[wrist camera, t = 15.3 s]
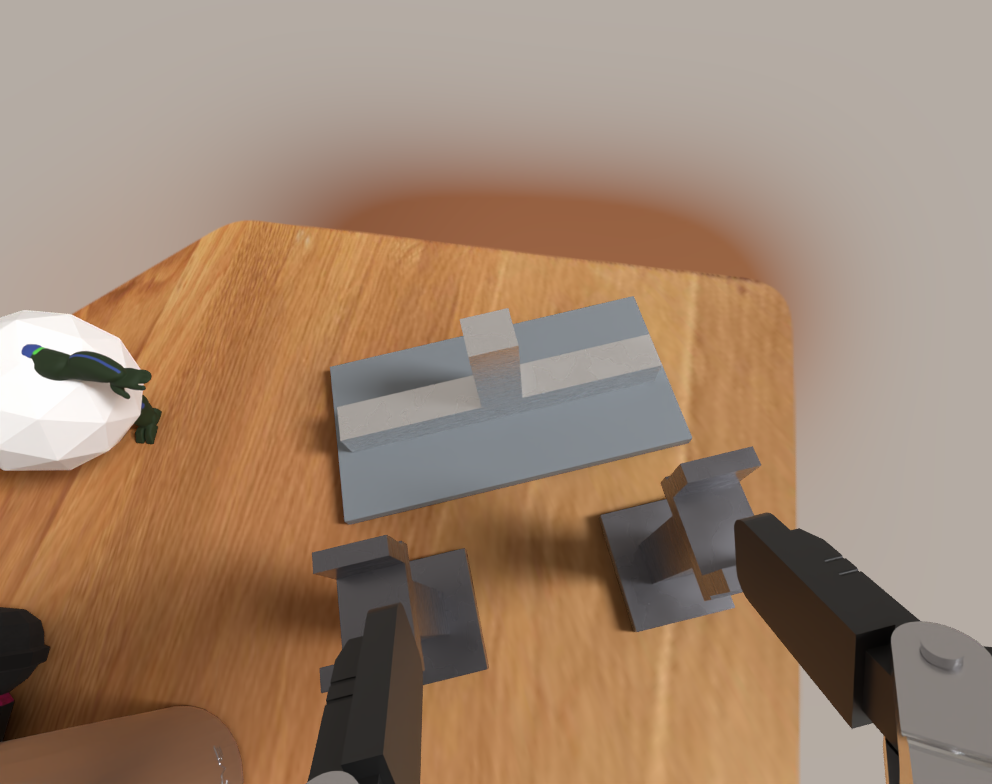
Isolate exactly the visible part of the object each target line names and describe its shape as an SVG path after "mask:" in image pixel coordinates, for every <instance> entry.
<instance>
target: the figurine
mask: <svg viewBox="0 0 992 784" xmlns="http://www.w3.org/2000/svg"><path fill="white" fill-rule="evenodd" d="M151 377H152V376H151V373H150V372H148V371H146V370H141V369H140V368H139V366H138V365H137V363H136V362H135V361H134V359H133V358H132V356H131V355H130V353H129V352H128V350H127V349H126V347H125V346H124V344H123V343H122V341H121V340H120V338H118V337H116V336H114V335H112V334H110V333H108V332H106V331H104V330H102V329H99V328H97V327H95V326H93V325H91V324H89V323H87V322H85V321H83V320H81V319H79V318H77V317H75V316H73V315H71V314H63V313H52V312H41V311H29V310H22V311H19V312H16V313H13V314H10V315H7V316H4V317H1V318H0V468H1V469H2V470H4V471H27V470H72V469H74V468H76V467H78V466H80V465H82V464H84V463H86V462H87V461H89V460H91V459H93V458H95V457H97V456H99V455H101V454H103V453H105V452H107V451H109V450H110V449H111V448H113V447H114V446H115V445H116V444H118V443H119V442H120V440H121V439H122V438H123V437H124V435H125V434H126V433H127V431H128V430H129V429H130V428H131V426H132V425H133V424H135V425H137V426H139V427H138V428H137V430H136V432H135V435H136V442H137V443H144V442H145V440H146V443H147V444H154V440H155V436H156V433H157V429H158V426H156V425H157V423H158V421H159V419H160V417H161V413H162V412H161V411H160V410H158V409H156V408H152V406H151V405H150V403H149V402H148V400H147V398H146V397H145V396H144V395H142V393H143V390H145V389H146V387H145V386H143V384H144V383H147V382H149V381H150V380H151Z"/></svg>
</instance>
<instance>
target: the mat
mask: <svg viewBox="0 0 992 784" xmlns="http://www.w3.org/2000/svg"><path fill="white" fill-rule="evenodd" d="M513 327H514V331H515V335H516V338H517V342H518V345H519V358H520V364H523V363H528V362H532V361H536V360H540V359H545V358H549V357H553V356H558V355H562V354H566V353H570V352H575V351H579V350H583V349H587V348H592V347H596V346H600V345H605V344H609V343H613V342H617V341H622V340H626V339H630V338H635V337H639V336H643V335H647V334H649V332H648V330H647V327H646V325H645V322H644V320H643V318H642V315H641V313H640V310H639V308H638V306H637V303H636V301H635V298H634V296H632V297H628V298H624V299H619V300H615V301H611V302H607V303H602V304H598V305H594V306H589V307H585V308H581V309H577V310H572V311H568V312H564V313H559V314H555V315H551V316H547V317H542V318H538V319H534V320H530V321H525V322H521V323H517V324H513ZM651 340H652V339H651ZM653 345H654V344H653ZM655 350H656V349H655ZM658 357H659V356H658ZM660 362H661V361H660ZM330 372H331V382H332V393H333V403H334V414H335V425H336V435H337V446H338V457H339V467H340V478H341V488H342V499H343V510H344V520H345V522H346V523H348V524H354V523H358V522H362V521H367V520H371V519H375V518H379V517H383V516H387V515H392V514H396V513H400V512H404V511H408V510H412V509H417V508H421V507H425V506H429V505H433V504H437V503H441V502H446V501H450V500H454V499H458V498H462V497H466V496H471V495H475V494H479V493H483V492H487V491H491V490H496V489H500V488H504V487H508V486H512V485H516V484H520V483H525V482H529V481H533V480H537V479H541V478H545V477H550V476H554V475H558V474H562V473H566V472H570V471H574V470H579V469H583V468H587V467H591V466H595V465H599V464H604V463H608V462H612V461H616V460H620V459H624V458H629V457H633V456H637V455H641V454H645V453H649V452H653V451H658V450H662V449H666V448H670V447H674V446H678V445H683V444H687V443H689V442H690V440H691V439H692V436H691V434H690V432H689V429H688V427H687V424H686V422H685V419H684V417H683V415H682V412H681V410H680V407H679V405H678V402H677V400H676V398H675V395H674V393H673V390H672V388H671V385H670V383H669V381H668V378H667V376H666V373H665V371H664V369H663V366H661V368H660V370H659V373H658V375H657V377H656V379H655V381H654V382H650V383H645V384H641V385H637V386H633V387H628V388H624V389H620V390H616V391H612V392H607V393H603V394H599V395H595V396H590V397H586V398H582V399H578V400H573V401H569V402H565V403H561V404H556V405H552V406H548V407H544V408H539V409H535V410H531V411H527V412H523V413H518V414H514V415H510V416H506V417H501V418H497V419H493V420H489V421H484V422H480V423H476V424H472V425H467V426H463V427H459V428H455V429H450V430H446V431H442V432H438V433H434V434H429V435H425V436H421V437H417V438H412V439H408V440H404V441H400V442H395V443H391V444H387V445H383V446H378V447H374V448H370V449H366V450H362V451H357V452H352V451H351V450H350V449H348V448H347V447H346V446H345V445H344V444H343V443H342V442H341V441H340V432H339V422H338V411H337V407H340V406H344V405H348V404H352V403H357V402H361V401H365V400H369V399H374V398H378V397H382V396H387V395H391V394H395V393H399V392H404V391H408V390H412V389H417V388H421V387H425V386H429V385H434V384H438V383H442V382H446V381H451V380H455V379H459V378H464V377H468V376H472V375H473V373H472V369H471V365H470V362H469V358H468V353H467V349H466V345H465V340H464V336H461V337H457V338H452V339H448V340H444V341H440V342H435V343H431V344H427V345H423V346H418V347H414V348H410V349H405V350H401V351H397V352H393V353H388V354H384V355H380V356H375V357H371V358H367V359H363V360H358V361H354V362H350V363H345V364H341V365H337V366H333V367H330Z"/></svg>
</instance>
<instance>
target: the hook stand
mask: <svg viewBox="0 0 992 784" xmlns="http://www.w3.org/2000/svg"><path fill="white" fill-rule="evenodd" d="M760 466H761V464H760V461H759V459H758V457H757V455H756V453H755V451H754V448H753V446H752V447H748V448H744V449H740V450H736V451H732V452H728V453H723V454H719V455H715V456H711V457H707V458H703V459H699V460H694V461H690V462H686V463H682V464H680V465H679V466H678V467H677V468H676V470H675V471H674V472H673V473H672V474H671V476H668V477H665V478H664V479H663V481H662V482H661V485H662V488H663V491H664V494H665V496H666V499H665V500H661V501H656V502H652V503H648V504H644V505H640V506H636V507H632V508H628V509H623V510H619V511H615V512H611V513H607V514H603V515H600V517H599V520H600V523H601V526H602V530H603V533H604V536H605V539H606V543H607V546H608V549H609V552H610V556H611V559H612V562H613V566H614V569H615V572H616V575H617V579H618V582H619V585H620V588H621V592H622V595H623V598H624V601H625V605H626V608H627V611H628V614H629V618H630V621H631V624H632V627H633V631H634V632H639V631H643V630H647V629H651V628H655V627H659V626H663V625H667V624H671V623H675V622H679V621H683V620H687V619H691V618H695V617H699V616H703V615H707V614H711V613H715V612H719V611H723V610H727V609H731V608H735V606H734V603H733V601H732V598H731V596H730V595H733V594H737V593H742V592H743V591H742V589H741V586H740V584H739V581H738V578H737V572H736V556H735V538H734V524H735V521H736V520H739V519H743V518H747V517H751V516H754V514H753V512H752V510H751V508H750V505H749V503H748V501H747V498H746V496H745V494H744V492H743V489H742V487H741V485H740V482H739V481H741V480H742V479H743V478H745V477H746V476H747V475H749V474H750V473H752V472H753V471H754V470H756V469H757V468H758V467H760ZM312 560H313V574H316V575H321V576H325V577H329V578H333V579H337V591H338V603H339V615H340V627H341V639H342V649H343V647H344V646H345V644H346V643H347V641H348V640H349V639H352V638H356V637H360V636H363V633H364V628H365V622H366V616H367V612H368V611H369V610H371V609H375V608H379V607H383V606H387V605H391V604H395V603H399V602H401V603H402V605H403V607H404V609H405V612H406V615H407V618H408V621H409V624H410V627H411V630H412V633H413V635H414V638H415V641H416V644H417V647H418V650H419V654H420V658H421V664H422V672H423V685H425V684H429V683H433V682H437V681H441V680H445V679H450V678H454V677H458V676H462V675H466V674H470V673H474V672H478V671H482V670H486V669H488V668H489V666H488V660H487V655H486V650H485V645H484V639H483V634H482V629H481V624H480V619H479V613H478V608H477V603H476V598H475V592H474V587H473V582H472V577H471V571H470V566H469V561H468V556H467V551H466V549H465V548H463V549H459V550H455V551H450V552H446V553H442V554H438V555H434V556H430V557H426V558H422V559H418V560H413V561H409V555H408V548H407V544H406V543H404V542H403V541H399V542H397V541H396V540H394V539H393V538H391V537H389V536H388V535H384V536H380V537H375V538H371V539H367V540H363V541H359V542H355V543H351V544H346V545H342V546H338V547H334V548H330V549H326V550H322V551H317V552H313V553H312ZM333 668H334V665H330V666H326V667H322V668H320V683H321V693H324V692H328V690H329V687H331V683H330V681H331V677H332V673H333Z"/></svg>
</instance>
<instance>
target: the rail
mask: <svg viewBox="0 0 992 784" xmlns="http://www.w3.org/2000/svg"><path fill="white" fill-rule="evenodd" d="M460 323H461V327H462V331H463V336H464V340H465V345H466V349H467V353H468V358H469V362H470V365H471V369H472V373H473V375H472V376H468V377H464V378H459V379H455V380H451V381H446V382H442V383H438V384H434V385H429V386H425V387H421V388H417V389H412V390H408V391H404V392H399V393H395V394H391V395H387V396H382V397H378V398H374V399H369V400H365V401H361V402H357V403H352V404H348V405H344V406H340V407H337V411H338V422H339V432H340V441H341V442H342V443H343V444H344V445H345V446H346V447H347V448H348V449H350V450H351V451H352V452H357V451H362V450H366V449H370V448H374V447H378V446H383V445H387V444H391V443H395V442H400V441H404V440H408V439H412V438H417V437H421V436H425V435H429V434H434V433H438V432H442V431H446V430H450V429H455V428H459V427H463V426H467V425H472V424H476V423H480V422H484V421H489V420H493V419H497V418H501V417H506V416H510V415H514V414H518V413H523V412H527V411H531V410H535V409H539V408H544V407H548V406H552V405H556V404H561V403H565V402H569V401H573V400H578V399H582V398H586V397H590V396H595V395H599V394H603V393H607V392H612V391H616V390H620V389H624V388H628V387H633V386H637V385H641V384H645V383H650V382H654V381H655V379H656V377H657V375H658V373H659V370H660V368H661V366H662V364H661V362H660V359H659V357H658V354H657V352H656V350H655V347H654V345H653V342H652V340H651V337H650V335H649V334H647V335H643V336H639V337H635V338H630V339H626V340H622V341H617V342H613V343H609V344H605V345H600V346H596V347H592V348H587V349H583V350H579V351H575V352H570V353H566V354H562V355H558V356H553V357H549V358H545V359H540V360H536V361H532V362H528V363H523V364H520V358H519V345H518V342H517V338H516V335H515V331H514V327H513V324H512V320H511V317H510V313H509V309H508V308H507V309H502V310H498V311H494V312H489V313H485V314H481V315H477V316H472V317H468V318H464V319H460Z"/></svg>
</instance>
